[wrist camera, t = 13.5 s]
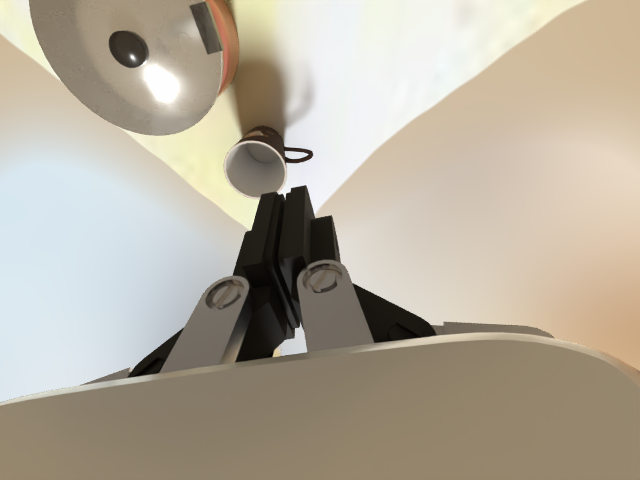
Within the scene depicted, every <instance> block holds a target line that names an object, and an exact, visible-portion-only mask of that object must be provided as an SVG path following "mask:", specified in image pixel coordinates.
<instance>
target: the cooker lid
mask: <svg viewBox="0 0 640 480" xmlns="http://www.w3.org/2000/svg"><path fill="white" fill-rule="evenodd" d="M29 5H30V13H31V18H32V23H33V27H34V30H35V33H36V36H37V39H38V41H39V44H40V46H41V48H42V50H43V52H44V54H45V56H46V58H47V60H48V62H49V63H50V65H51V67H52V68H53V70H54V71H55V73H56V74H57V75H58V77H59V78H60V80H61V81H62V82H63V83H64V85H65V86H66V87H67V88H68V89H69V90H70V91H71V93H72V94H73V95H74V96H76V97H77V98H78V99H79V100H80V101H81V102H82V103H83V104H84V105H85V106H87V107H88V108H89V109H90V110H91V111H93V112H94V113H96V114H97V115H99V116H100V117H102V118H103V119H105V120H107V121H109V122H110V123H112V124H114V125H116V126H119V127H121V128H123V129H126V130H129V131H132V132H135V133H140V134H145V135H155V136H159V135H170V134H176V133H179V132H182V131H184V130H186V129H188V128H190V127H192V126H194V125H195V124H196V123H198V122H199V121H200V120H201V119H202V118H203V117H204V116H205V115H206V114H207V113H208V112H209V110H210V109H211V107H212V106H213V105H214V103H215V101H216V99H217V97H218V94H219V91H220V88H221V85H222V79H223V70H224V59H223V50H225V48H224V45H223V42H222V39H221V37H220V34H219V31H218V28H217V25H216V22H215V19H214V16H213V13H212V10H211V7H210V4H209V2H206V1H205V0H29Z"/></svg>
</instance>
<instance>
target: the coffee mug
mask: <svg viewBox="0 0 640 480" xmlns="http://www.w3.org/2000/svg"><path fill="white" fill-rule="evenodd" d="M285 151H295V152H304V153H307V154H309V155H308V156H306V157H304V158H300V159H289V158H287V157H285ZM312 157H313V152H312V151H310V150H307V149H301V148H288V147H284V143H283V140H282V138H281V136H280V135H279V134H278V133H277V132H276V131H275V130H274V129H272V128H269V127H265V126H259V127H256V128H254V129H252V130H251V131H250V132H248V133H247V134H246V135H245V136H244V137H243V138H242V139H241V140H240V141H239V142H238V143H237V144H235V145H234V146H233V147H232V148H231V149H230V150H229V152H228V153H227V155H226V157H225V160H224V173H225V177H226V179H227V181H228V182H229V184H230V185H231V187H232V188H233V189H235V190H236V191H237V192H238V193H240V194H241V195H243V196H246V197H248V198H252V199H260V197H261V195H262V194H265V193H270V192H275V191H276V192H277V193H278V192H279V191H280V190H281V189H282V188H283V186H284V184H285V182H286V178H287V168H286V163H300V162H304V161H307V160H309V159H311V158H312Z"/></svg>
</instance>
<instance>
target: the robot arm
mask: <svg viewBox="0 0 640 480" xmlns="http://www.w3.org/2000/svg"><path fill="white" fill-rule="evenodd" d="M300 322H301V325H302V327H303V330H304V332H305V339H306V346H307V353H300V354H293V355H285V356H281V347H280V344H281V343H282V342H283V341H284V340H286V339H292V338H294V336H295V328H299V327H300ZM0 480H640V371H638V370H637V369H635V368H634V367H632V366H630V365H629V364H627V363H625V362H624V361H622V360H620V359H618V358H616V357H614V356H612V355H609V354H607V353H605V352H602V351H600V350H597V349H594V348H590V347H587V346H584V345H581V344H577V343H573V342H569V341H565V340H560V339H555V338H554V337H553V336H552V335H550V334H549V333H547V332H545V331H542V330H540V329H538V328H533V327H528V326H518V325H498V324H478V323H477V324H476V323H458V322H443V326H436V325H430V324H429V323H428V322H427V321H425V320H424V319H422V318H421V317H418V316H417V315H415V314H413V313H410V312H409V311H406V310H405V309H403V308H401V307H399V306H397V305H395V304H393V303H391V302H389V301H387V300H385V299H383V298H381V297H379V296H377V295H375V294H373V293H371V292H369V291H367V290H365V289H363V288H361V287H359V286H357V285H355V284H353V283H352V281H351V279H350V276H349V273H348V271H347V269H346V268H345V266H344V265H343V264H341V262H340V254H339V247H338V241H337V236H336V231H335V227H334V222H333V218H332V215H331V216H325V217H320V218H315V216H314V212H313V208H312V204H311V200H310V197H309V193H308V189H307V186H306V185H305V186H300V187H295V188H291V192H290V193H286V200H285V198H284V195H283V194H280V195H278V193H277V192H276V191H275V192H270V193H265V194H262V195H261V197H260V201H259V205H258V208H257V212H256V216H255V219H254V223H253V227H252V230H251V231H247V232H246V233H245V235H244V239H243V242H242V246H241V249H240V252H239V256H238V259H237V262H236V266H235V269H234V273H233V276H229V277H225V278H222V279H220V280H218V281H216V282H215V283H213V284H212V285H211V286H210V287H209V288H207V290H206V291H205V292H204V293H203V295H202V297H201V298H200V300H199V302H198V304H197V306H196V307H195V309H194V311H193V313H192V315H191V317H190V319H189V320H188V322H187V324H186V326H185V327H184V328H183V329H181V330H180V331H179V332H177V333H176V334H175V335H174V336H172V337H171V338H170V339H168V340H167V341H166V342H165V343H163V344H162V345H161V346H160V347H158V348H157V349H156V350H154V351H153V352H152V353H151V354H149V355H148V356H146V357H145V358H144V359H143V360H142V361H141V362H139V363H138V364H137V365H136V366H135V368H134V369H131V368H127V369H124V370H122V371H119V372H116V373H113V374H110V375H107V376H105V377H102V378H99V379H96V380H93V381H91V382H88V383H85V384H82V385H79V386H75V387H69V388H62V389H57V390H51V391H46V392H41V393H36V394H32V395H27V396H22V397H18V398H14V399H11V400H7V401H3V402H0Z"/></svg>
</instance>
